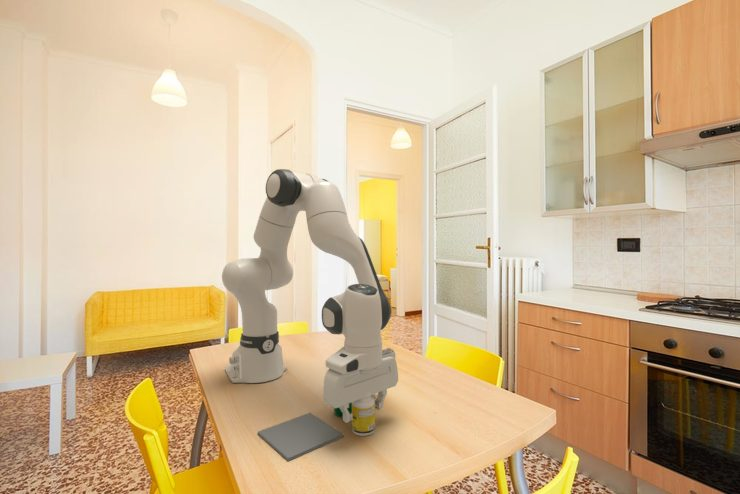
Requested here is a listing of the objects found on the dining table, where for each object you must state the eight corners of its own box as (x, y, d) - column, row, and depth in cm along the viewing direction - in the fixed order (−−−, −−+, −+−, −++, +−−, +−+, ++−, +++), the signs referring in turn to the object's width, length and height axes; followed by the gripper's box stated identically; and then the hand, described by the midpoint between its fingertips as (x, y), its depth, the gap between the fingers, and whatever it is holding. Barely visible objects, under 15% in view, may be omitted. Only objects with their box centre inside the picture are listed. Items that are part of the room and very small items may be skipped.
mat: (257, 434, 83) (257, 431, 83) (310, 415, 92) (310, 412, 92) (288, 461, 73) (288, 458, 73) (343, 436, 82) (343, 433, 82)
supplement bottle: (351, 425, 87) (351, 384, 87) (373, 424, 87) (373, 383, 87) (352, 437, 82) (351, 393, 82) (376, 436, 82) (376, 393, 82)
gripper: (385, 344, 94) (386, 397, 94) (319, 361, 80) (319, 423, 80) (403, 349, 89) (404, 405, 89) (336, 368, 75) (336, 434, 76)
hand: (363, 414), depth 85 cm, fingers open, 8 cm apart
